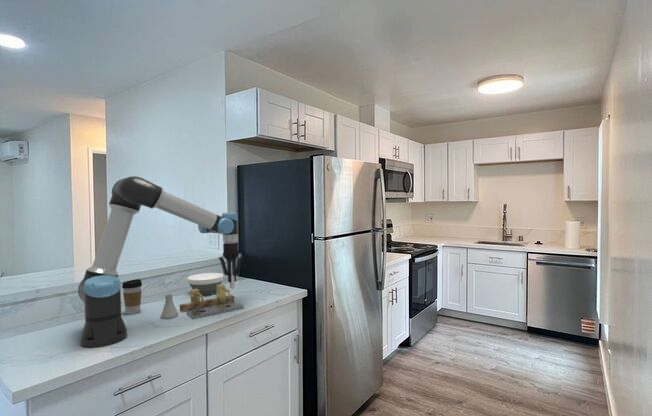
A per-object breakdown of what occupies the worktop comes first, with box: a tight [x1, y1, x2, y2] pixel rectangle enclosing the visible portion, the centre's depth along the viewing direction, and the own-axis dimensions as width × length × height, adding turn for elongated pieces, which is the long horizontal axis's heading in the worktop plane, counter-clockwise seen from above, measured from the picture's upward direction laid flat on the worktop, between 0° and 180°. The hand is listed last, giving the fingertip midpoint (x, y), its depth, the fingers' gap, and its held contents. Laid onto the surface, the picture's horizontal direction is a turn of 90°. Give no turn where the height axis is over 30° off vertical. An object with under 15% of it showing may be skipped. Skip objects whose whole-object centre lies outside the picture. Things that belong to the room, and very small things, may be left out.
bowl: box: [187, 272, 224, 296], centre depth 203 cm, size 20×20×10 cm
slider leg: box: [216, 283, 231, 305], centre depth 176 cm, size 3×14×9 cm, turn 36°
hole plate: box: [186, 301, 245, 320], centre depth 167 cm, size 24×9×1 cm, turn 126°
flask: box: [160, 293, 179, 320], centre depth 160 cm, size 7×7×10 cm
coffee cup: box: [121, 278, 143, 315], centre depth 168 cm, size 8×8×15 cm
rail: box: [179, 288, 235, 313], centre depth 172 cm, size 26×14×9 cm, turn 126°
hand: (232, 288), depth 183 cm, fingers closed
